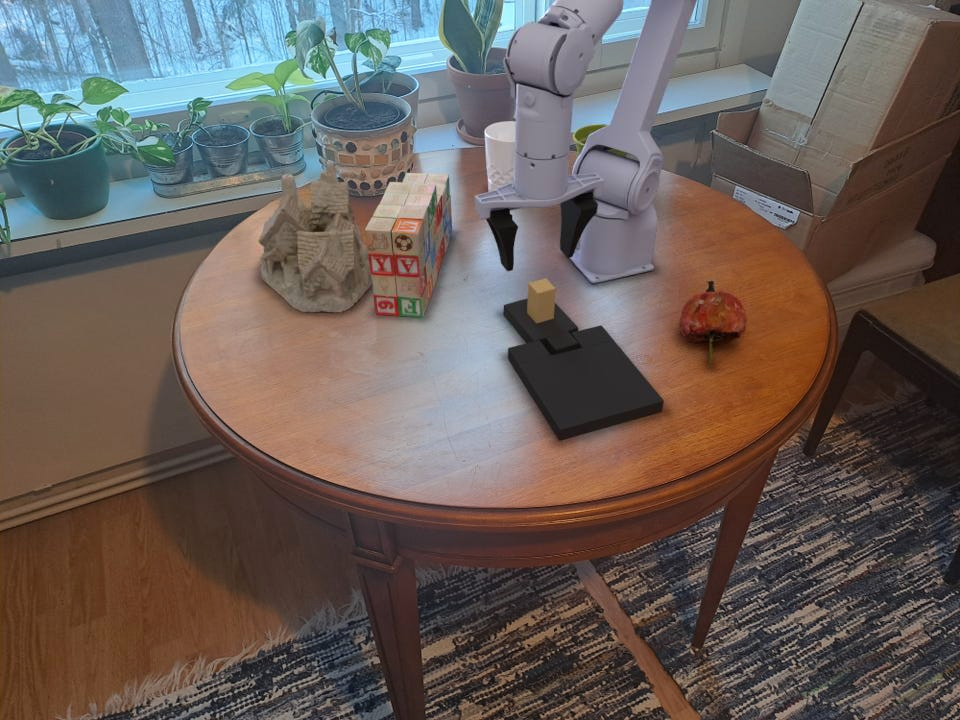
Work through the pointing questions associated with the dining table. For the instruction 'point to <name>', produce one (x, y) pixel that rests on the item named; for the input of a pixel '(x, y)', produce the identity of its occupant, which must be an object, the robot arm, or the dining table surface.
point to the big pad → (584, 384)
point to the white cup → (500, 153)
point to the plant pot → (582, 136)
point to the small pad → (544, 330)
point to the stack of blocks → (409, 243)
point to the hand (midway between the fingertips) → (537, 259)
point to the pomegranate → (713, 317)
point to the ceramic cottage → (315, 247)
